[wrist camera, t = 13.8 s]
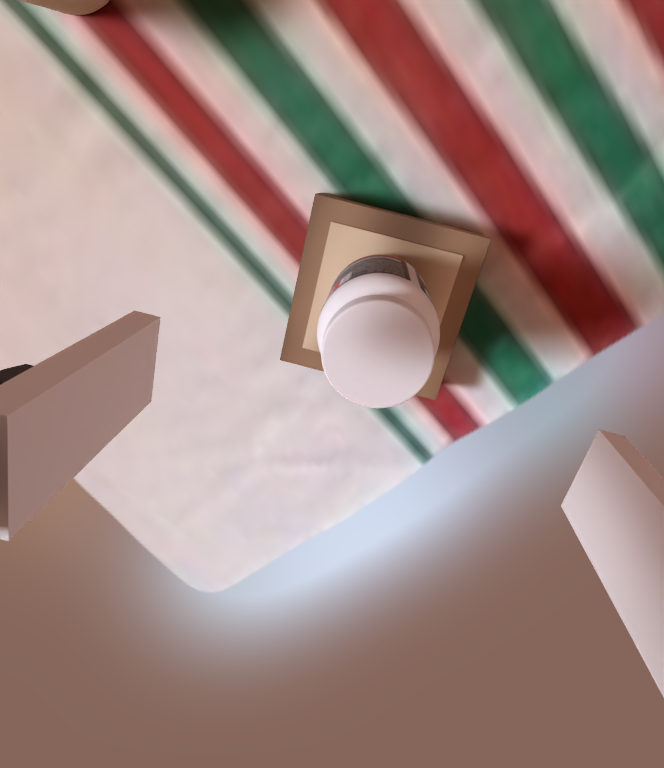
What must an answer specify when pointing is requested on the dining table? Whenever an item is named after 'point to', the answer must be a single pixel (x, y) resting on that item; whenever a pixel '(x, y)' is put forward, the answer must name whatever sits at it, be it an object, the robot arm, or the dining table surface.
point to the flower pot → (70, 5)
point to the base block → (389, 237)
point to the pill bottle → (378, 332)
